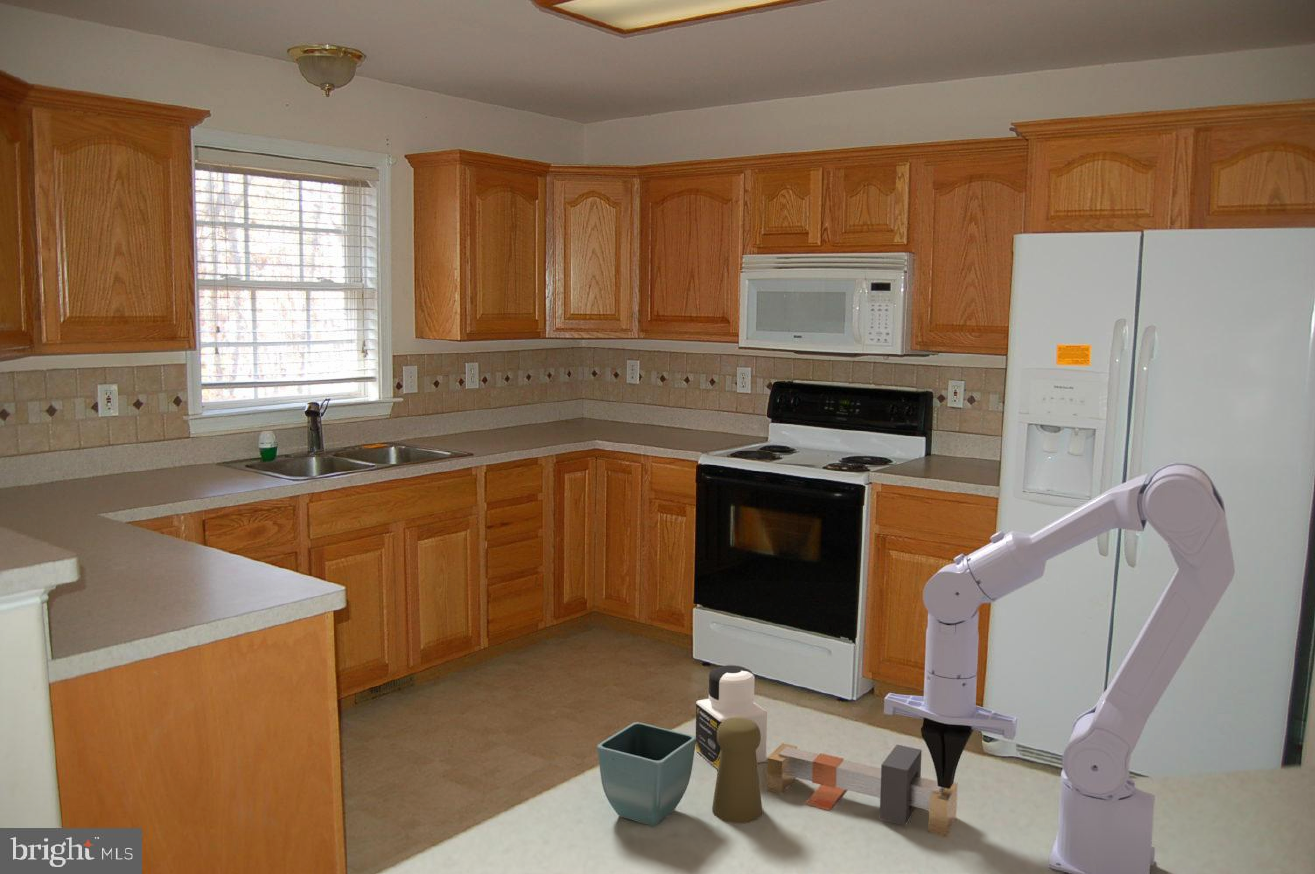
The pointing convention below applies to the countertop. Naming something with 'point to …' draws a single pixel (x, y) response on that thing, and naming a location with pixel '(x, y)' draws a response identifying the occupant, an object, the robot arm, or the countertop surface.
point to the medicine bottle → (728, 710)
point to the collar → (898, 783)
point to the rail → (855, 783)
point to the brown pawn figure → (738, 772)
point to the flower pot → (646, 771)
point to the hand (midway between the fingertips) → (945, 784)
